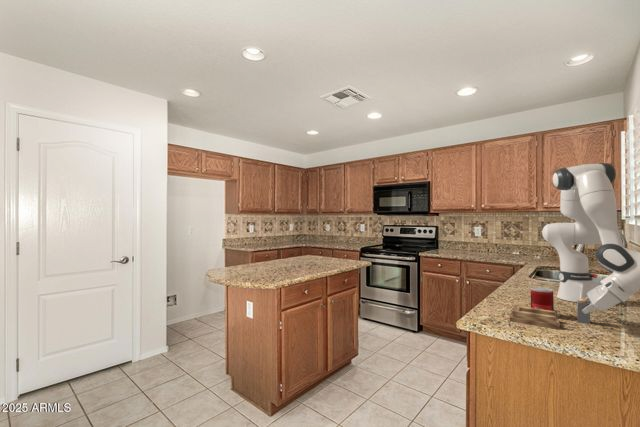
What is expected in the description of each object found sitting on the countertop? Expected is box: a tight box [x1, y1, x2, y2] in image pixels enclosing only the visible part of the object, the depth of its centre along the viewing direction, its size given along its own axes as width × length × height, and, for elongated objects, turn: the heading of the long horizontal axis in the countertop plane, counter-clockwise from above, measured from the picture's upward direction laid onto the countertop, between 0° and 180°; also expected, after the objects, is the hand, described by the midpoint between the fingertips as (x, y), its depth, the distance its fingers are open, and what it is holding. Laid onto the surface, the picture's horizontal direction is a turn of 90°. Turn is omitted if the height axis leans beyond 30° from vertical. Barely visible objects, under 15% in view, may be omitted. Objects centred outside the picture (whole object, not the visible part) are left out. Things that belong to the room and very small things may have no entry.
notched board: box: [509, 305, 561, 330], centre depth 122 cm, size 16×11×4 cm
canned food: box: [530, 286, 555, 311], centre depth 131 cm, size 8×8×11 cm
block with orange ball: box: [576, 298, 591, 325], centre depth 121 cm, size 4×4×9 cm
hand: (582, 308), depth 121 cm, fingers open, 8 cm apart
